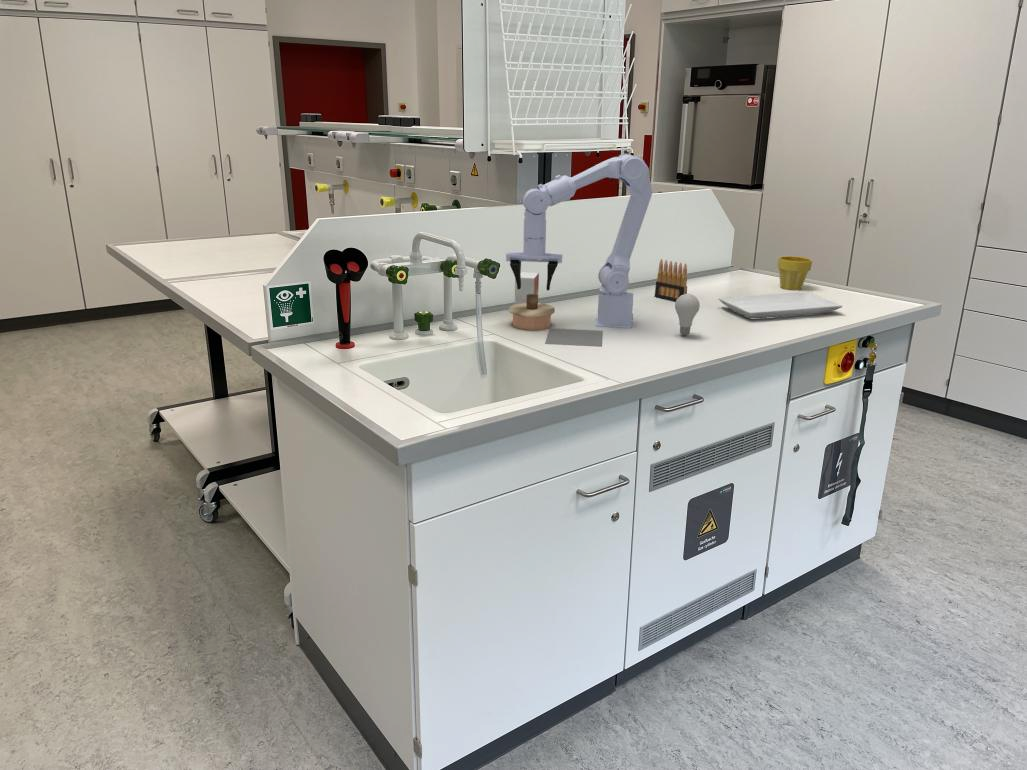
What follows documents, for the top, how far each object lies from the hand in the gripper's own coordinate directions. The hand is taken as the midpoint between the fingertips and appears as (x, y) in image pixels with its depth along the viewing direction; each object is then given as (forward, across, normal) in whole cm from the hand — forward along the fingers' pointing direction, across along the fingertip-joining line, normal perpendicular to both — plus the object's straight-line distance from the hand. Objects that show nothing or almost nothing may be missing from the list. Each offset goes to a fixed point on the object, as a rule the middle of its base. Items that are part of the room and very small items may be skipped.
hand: (533, 289), depth 200 cm
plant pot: (+10, -80, -60) cm, 100 cm away
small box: (+10, +3, -15) cm, 18 cm away
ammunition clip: (+10, -39, -36) cm, 54 cm away
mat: (+10, -12, +10) cm, 19 cm away
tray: (+11, -69, -27) cm, 75 cm away
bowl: (+10, 0, 0) cm, 10 cm away
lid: (+6, 0, 0) cm, 6 cm away
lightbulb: (+10, -40, +3) cm, 41 cm away
